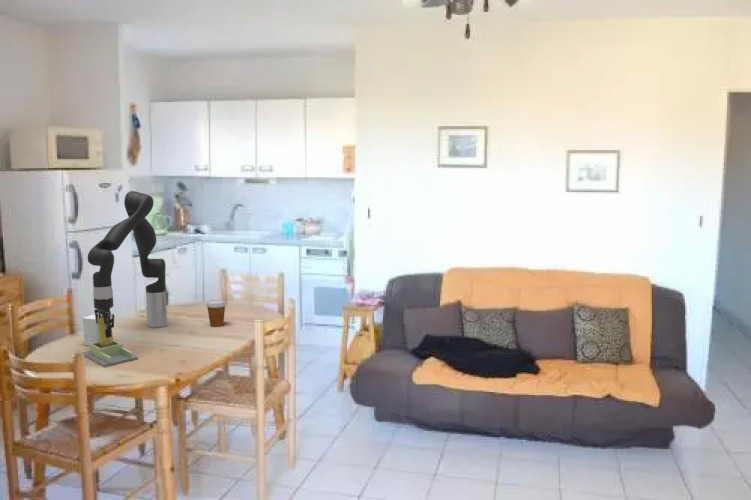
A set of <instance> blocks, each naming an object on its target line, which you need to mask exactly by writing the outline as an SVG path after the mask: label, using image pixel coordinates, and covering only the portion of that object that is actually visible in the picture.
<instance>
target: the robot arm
mask: <svg viewBox="0 0 751 500" xmlns="http://www.w3.org/2000/svg"><path fill="white" fill-rule="evenodd" d="M123 201H124V202H123V203H124V204H123V205H124V208H125V211H126V214H127V218H125V219H124V220H122V221H120V222H117V223H116V224H114V225H113V226H112V227H111V228H110V229H109V231H108V232H107V234H106V235H105V236H104V238H103V239H102V240H100V241H99V242H98V243H97V244H95V245H94V246H93V247H91V249H90V250H89V252H88V253H87V262H88V263H89V264H90V265H92V266H94V267H95V266H96V267H99V271H95V272H94V273H93V275H92V286H93V288H92V289H93V290H92V293H93V294H92V296H93V309H94V310H93V311H94V314H95V318H96V323H98V316H99V318H102V319H103V324H104V325H105V333H106V337H107V338H108V337H111V336H112V335H113V333H112V334H111V328H112V329H113V328H115V314H114V313H112V312H111V309H112V308H113V307H114V293H113V291H114V290H113V287H112V285H113V284H112V273H113V269H114V264H115V255H114V253H113V252H114V251H117V250H118V249H119V248H120V247H121V245H122V243H124V241H125V240H126V238H127V237H128V235H129V234H130V233H132V232H133V237H134V241H135V244H136V245H135V246H136V248H137V252H138V256H139V263H140V269H141V274H142V276H143V278H147V279H148V278H149V279H150V278H151V279H153V278H154V279H155V278H156V279H157V280H156V281H155V282H151V283H149V284H148V285H146V286H145V298H146V301H145V302H146V322H147V327H148V328H163V327H166V326H168V313H167V311H168V309H167V307H168V306H167V290H166V287H167V285H166V271H167V270H166V268H167V267H166V261H165V260H164V259H163V258H149V255H150V254H151V253H152V252H153V249H155V247H156V244H157V236H156V232H155V229H154V227H153V226H152V224H151V223H150V222H149V221H148V219H146V217H147V216H148V215H149V214H150V213H151V211H152V210H153V207H154V198H153V197H152V196H151V195H149V194H147V193H142V192H139V191H135V190H131V191H128V192H127V193H126V194H125V196H124V200H123ZM104 319H105V320H107V321H105V320H104ZM111 323H112V324H111Z"/></svg>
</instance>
